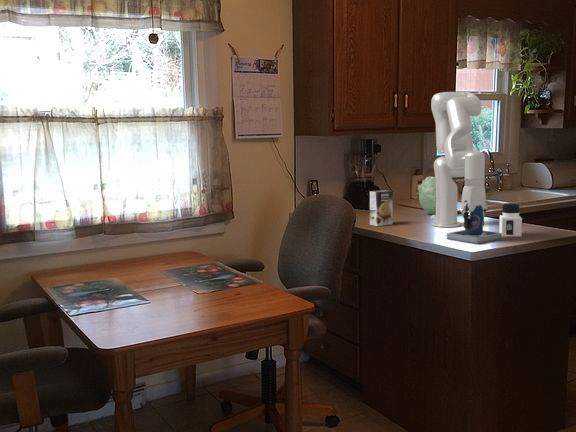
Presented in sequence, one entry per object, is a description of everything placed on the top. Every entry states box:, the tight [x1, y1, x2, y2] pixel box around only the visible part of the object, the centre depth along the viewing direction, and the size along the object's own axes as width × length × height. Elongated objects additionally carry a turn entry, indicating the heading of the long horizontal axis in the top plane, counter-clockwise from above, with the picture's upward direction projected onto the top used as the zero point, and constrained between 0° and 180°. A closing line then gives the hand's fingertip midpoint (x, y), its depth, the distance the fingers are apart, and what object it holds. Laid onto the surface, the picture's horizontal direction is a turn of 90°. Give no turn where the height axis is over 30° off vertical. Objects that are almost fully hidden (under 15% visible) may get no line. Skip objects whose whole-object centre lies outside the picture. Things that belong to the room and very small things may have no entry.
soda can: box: [464, 205, 484, 236], centre depth 247 cm, size 7×7×12 cm
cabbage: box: [417, 175, 436, 216], centre depth 313 cm, size 16×19×20 cm
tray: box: [446, 229, 503, 245], centre depth 247 cm, size 15×15×2 cm
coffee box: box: [369, 189, 394, 227], centre depth 289 cm, size 9×6×16 cm
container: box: [498, 202, 523, 237], centre depth 253 cm, size 8×8×13 cm
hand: (473, 226), depth 247 cm, fingers closed on soda can, 6 cm apart
